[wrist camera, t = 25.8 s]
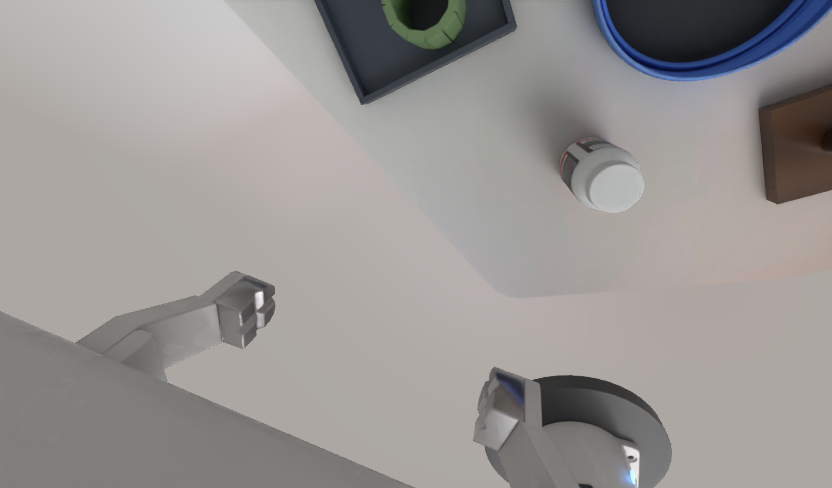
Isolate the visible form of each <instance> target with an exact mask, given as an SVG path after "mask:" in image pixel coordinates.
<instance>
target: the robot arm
mask: <svg viewBox="0 0 832 488" xmlns="http://www.w3.org/2000/svg"><path fill="white" fill-rule="evenodd" d="M274 294H275V287H274V286H273V285H271V284H268V283H266V282H263V281H261V280H258V279H256V278H253V277H251V276H248V275H245V274H243V273H240V272H238V271H234V272H231V273H230V274H228V275H227V276H226V277H224V278H223V279H222V280H220V281H219V282H218V283H216V284H215V285H214V286H212V287H211V288H210V289H209V290H207V291H206V292H205V293H203V294H202V295H201V296H199V297H198V296H192V297H188V298H184V299H180V300H176V301H173V302H169V303H166V304H162V305H158V306H154V307H150V308H146V309H143V310H139V311H135V312H131V313H128V314H124V315H120V316H116V317H114V318H113V319H111V320H110V321H108V322H106V323H105V324H103V325H102V326H100V327H99V328H98V329H96V330H94V331H93V332H91V333H90V334H89V335H87V336H85V337H84V338H82V339H81V340H79V341H78V342H76V343H73V342H71V341H68V340H66V339H64V338H61V337H59V336H57V335H54V334H52V333H50V332H47V331H45V330H43V329H40V328H38V327H35V326H33V325H31V324H29V323H26V322H24V321H22V320H19V319H17V318H15V317H12V316H10V315H7V314H5V313H3V312H0V488H414V487H412V486H410V485H407V484H405V483H402V482H400V481H398V480H395V479H393V478H391V477H388V476H386V475H384V474H381V473H379V472H377V471H374V470H372V469H369V468H367V467H365V466H363V465H360V464H358V463H355V462H353V461H351V460H348V459H346V458H344V457H341V456H339V455H337V454H334V453H332V452H329V451H327V450H325V449H323V448H320V447H318V446H315V445H313V444H311V443H308V442H306V441H304V440H301V439H299V438H296V437H294V436H292V435H290V434H287V433H285V432H282V431H280V430H277V429H275V428H273V427H271V426H268V425H266V424H264V423H261V422H259V421H256V420H254V419H252V418H249V417H247V416H245V415H242V414H240V413H238V412H235V411H233V410H231V409H228V408H226V407H224V406H221V405H219V404H217V403H214V402H212V401H209V400H207V399H205V398H202V397H200V396H198V395H195V394H193V393H191V392H188V391H186V390H184V389H181V388H179V387H177V386H174V385H172V384H169V383H167V378H166V375H165V372H164V369H165V368H168V367H170V366H172V365H174V364H176V363H178V362H181V361H183V360H185V359H187V358H189V357H191V356H194V355H196V354H198V353H200V352H202V351H204V350H206V349H209V348H211V347H213V346H215V345H217V344H220V343H221V342H222V341H223V342H226V343H228V344H231V345H234V346H236V347H239V348H242V349H244V348H245V347H246V346H247V345H248V344H249V343H250V342H251V341H252V340H253V338H254V337H255V336H256V330H257V329H260V328H263V327H265V326H266V325H267V323H268V322H269V321H270V320H271V318H272V316H273V314H274V310H275V302H274V300H273V298H272V296H273V295H274ZM478 411H479V414H480V415H479V417H478V418H477V420H476V423H475V431H474V439H473V441H475V442H477V443H480V444H482V445H484V446H486V447H489V448H491V449H493V450H495V451H498V452H499V453H498V454H499V457H500V460H501V462H502V465H503V468H504V470H505V473H506V476H507V479H508V481H509V484H510V487H511V488H638V486H639V458H640V453H639V449H638V446H637V445H636V444H635V443H633V442H630V441H627V440H623V439H619V438H617V437H615V436H613V435H612V434H610V433H609V432H607V431H605V430H604V429H602V428H599V427H597V426H594V425H591V424H587V423H582V422H573V421H565V422H556V423H552V424H548V425H545V426H543V427H542V413H541V391H540V384H539V383H537V382H535V381H532V380H529V379H526V378H523V377H521V376H519V375H516V374H513V373H510V372H507V371H505V370H502V369H499V368H496V367H494V368H493V369H492V370H491V372H490V375H489V381H486V382H485V384H484V386H483V388H482V391H481V394H480V398H479V402H478Z"/></svg>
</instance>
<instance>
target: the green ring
mask: <svg viewBox="0 0 832 488" xmlns="http://www.w3.org/2000/svg"><path fill="white" fill-rule="evenodd" d="M412 1H413V0H382V4H383V5H384V6H383V7H382V8H383V11H384V13H385V16H386V18H387V21H388V23H389V25H390V26H391V28H392V29H393V30H394V31H395V32H396V33H397V34H399V35H400V36H401V37H402V38H403V39H405V40H407V41H409V42H411V43H413V44H415V45H417V46H419V47H421V48H423V49H430V50H437V49H441V48H443V47H445V46H447V45H449V44H451V43H452V40H453V41H454V40H455V39H456V37H457V36H458V34H459V33H460V31H461V30H462V28H463V26H462V25H464V22H465V16H466V9H467V7H466V1H465V0H448V8H447V10H446V11H445V13H444V15H443V16H442V18H441V19H440V21H439V23H438V24H436V25H434V26H432V27H430V28H429V29H427V30H425V31H421V30H414V27H413V24H412V22H411V19H410V13H411V3H412Z"/></svg>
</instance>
